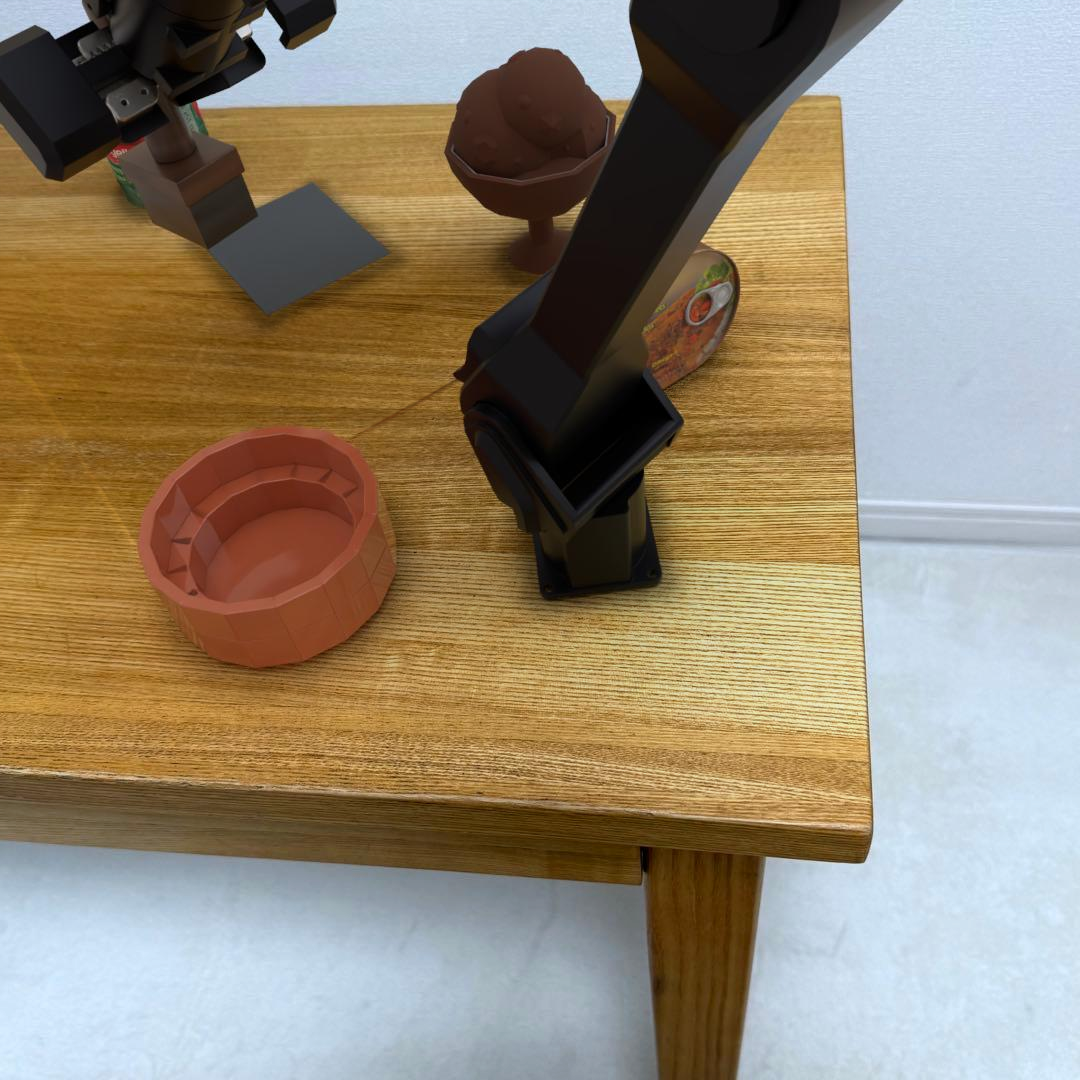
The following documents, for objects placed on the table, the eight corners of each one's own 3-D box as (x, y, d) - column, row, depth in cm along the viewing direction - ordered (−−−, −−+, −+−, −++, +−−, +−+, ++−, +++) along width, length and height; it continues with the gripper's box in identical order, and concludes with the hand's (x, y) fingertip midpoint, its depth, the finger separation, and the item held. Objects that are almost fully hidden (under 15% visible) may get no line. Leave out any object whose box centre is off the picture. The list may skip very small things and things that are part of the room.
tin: (549, 460, 63) (535, 351, 56) (519, 431, 65) (501, 322, 58) (741, 343, 68) (748, 230, 61) (708, 319, 69) (711, 206, 63)
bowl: (400, 654, 56) (378, 593, 51) (164, 687, 56) (122, 629, 51) (396, 477, 63) (376, 411, 59) (189, 507, 64) (154, 443, 59)
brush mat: (393, 259, 77) (391, 252, 76) (269, 322, 74) (266, 315, 73) (314, 188, 83) (312, 181, 83) (197, 243, 80) (194, 236, 80)
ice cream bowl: (624, 207, 78) (616, -3, 66) (616, 308, 71) (604, 94, 59) (480, 211, 79) (446, 6, 67) (458, 310, 72) (417, 102, 61)
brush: (263, 215, 66) (172, -14, 56) (207, 252, 64) (103, 23, 54) (203, 189, 69) (106, -32, 59) (148, 224, 67) (39, 2, 57)
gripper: (235, -272, 51) (182, -74, 65) (-128, -127, 43) (-100, 63, 57) (382, -61, 53) (301, 87, 67) (63, 113, 46) (45, 239, 59)
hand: (145, 113), depth 63 cm, fingers closed on brush, 2 cm apart
